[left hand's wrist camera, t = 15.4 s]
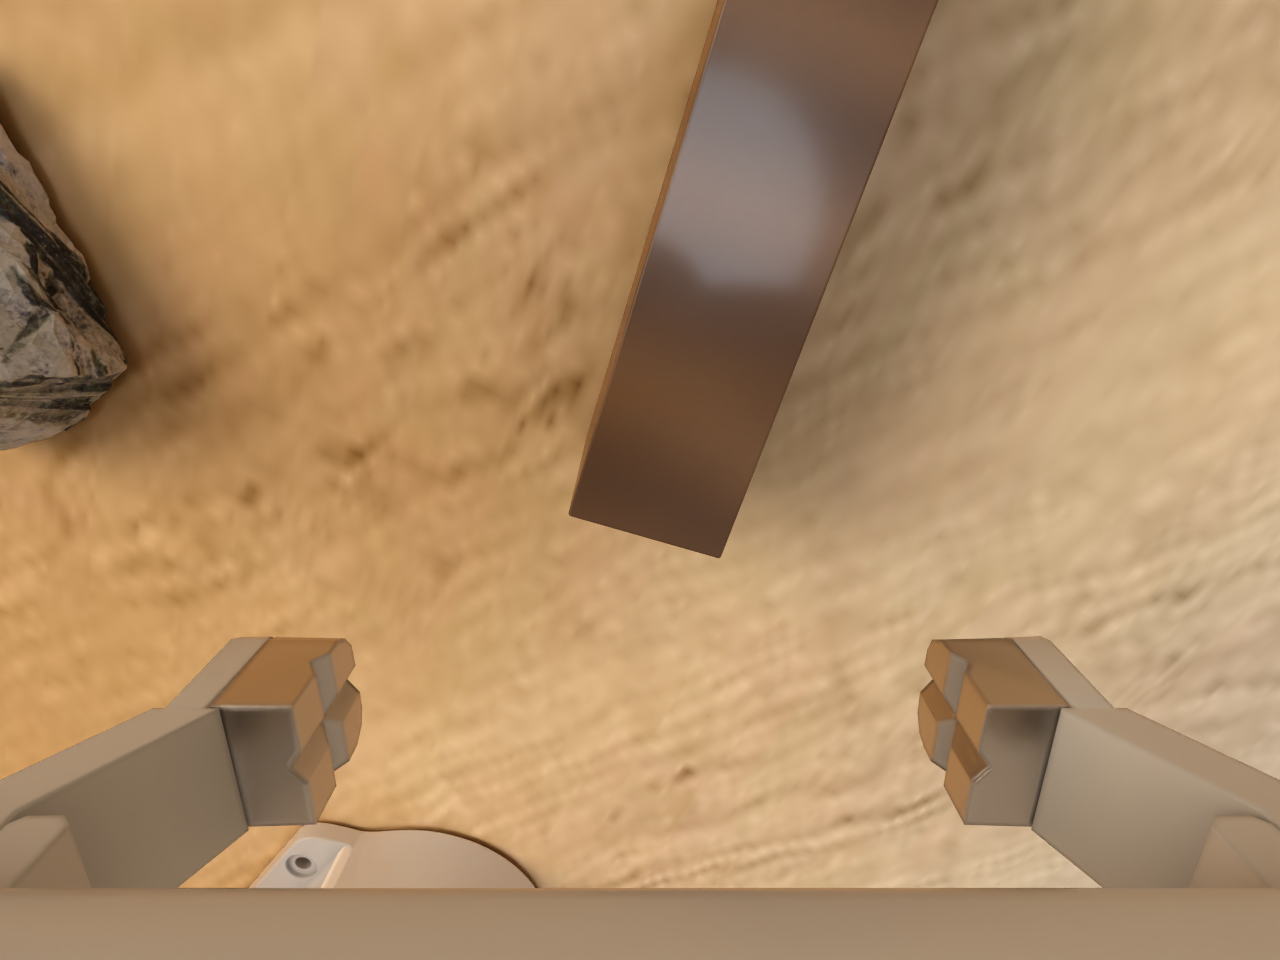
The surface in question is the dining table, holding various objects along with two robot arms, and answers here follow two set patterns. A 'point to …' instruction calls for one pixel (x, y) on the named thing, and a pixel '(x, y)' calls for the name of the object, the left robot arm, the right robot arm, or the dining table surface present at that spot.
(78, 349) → the rock
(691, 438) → the bar
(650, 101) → the dining table surface
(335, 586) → the dining table surface
